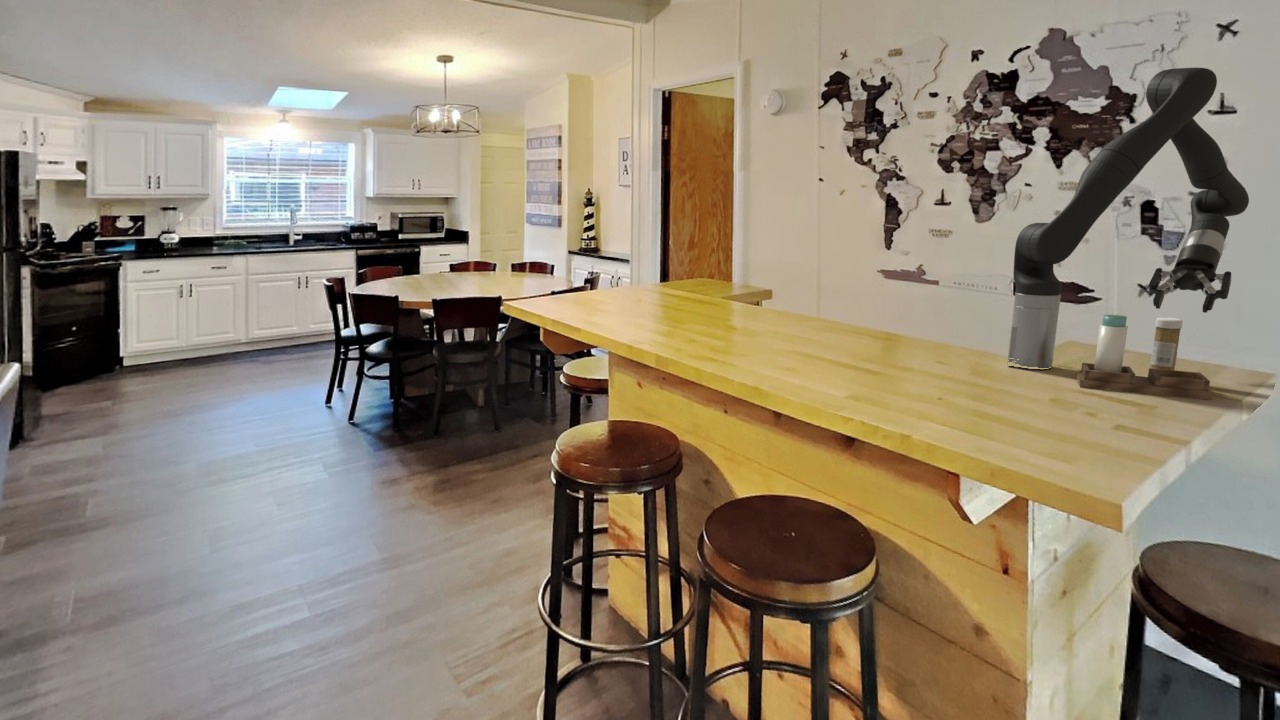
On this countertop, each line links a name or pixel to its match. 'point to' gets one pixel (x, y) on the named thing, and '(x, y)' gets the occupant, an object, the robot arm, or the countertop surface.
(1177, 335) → the sprinkles bottle
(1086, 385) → the pocket board
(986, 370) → the countertop surface
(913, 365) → the countertop surface
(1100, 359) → the bottle
